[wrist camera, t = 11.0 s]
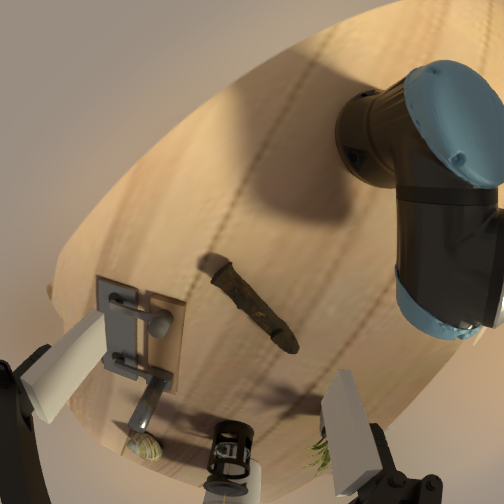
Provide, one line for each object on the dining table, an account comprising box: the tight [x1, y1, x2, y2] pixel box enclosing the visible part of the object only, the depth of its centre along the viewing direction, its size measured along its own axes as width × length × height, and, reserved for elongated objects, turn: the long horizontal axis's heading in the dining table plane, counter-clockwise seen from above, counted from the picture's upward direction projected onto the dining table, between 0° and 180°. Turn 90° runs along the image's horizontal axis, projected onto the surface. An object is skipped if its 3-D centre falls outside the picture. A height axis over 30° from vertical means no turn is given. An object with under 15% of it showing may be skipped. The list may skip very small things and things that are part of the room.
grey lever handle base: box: [110, 294, 186, 395], centre depth 45 cm, size 14×22×6 cm, turn 167°
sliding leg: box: [113, 358, 174, 433], centre depth 41 cm, size 13×3×14 cm, turn 77°
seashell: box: [127, 433, 163, 461], centre depth 55 cm, size 10×10×10 cm
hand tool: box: [211, 262, 300, 354], centre depth 42 cm, size 19×4×5 cm, turn 40°
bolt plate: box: [98, 278, 138, 381], centre depth 47 cm, size 8×22×1 cm, turn 167°
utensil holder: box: [203, 459, 261, 504], centre depth 50 cm, size 15×15×18 cm
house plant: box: [303, 409, 331, 476], centre depth 42 cm, size 14×14×16 cm
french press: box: [203, 421, 254, 504], centre depth 43 cm, size 12×9×23 cm
